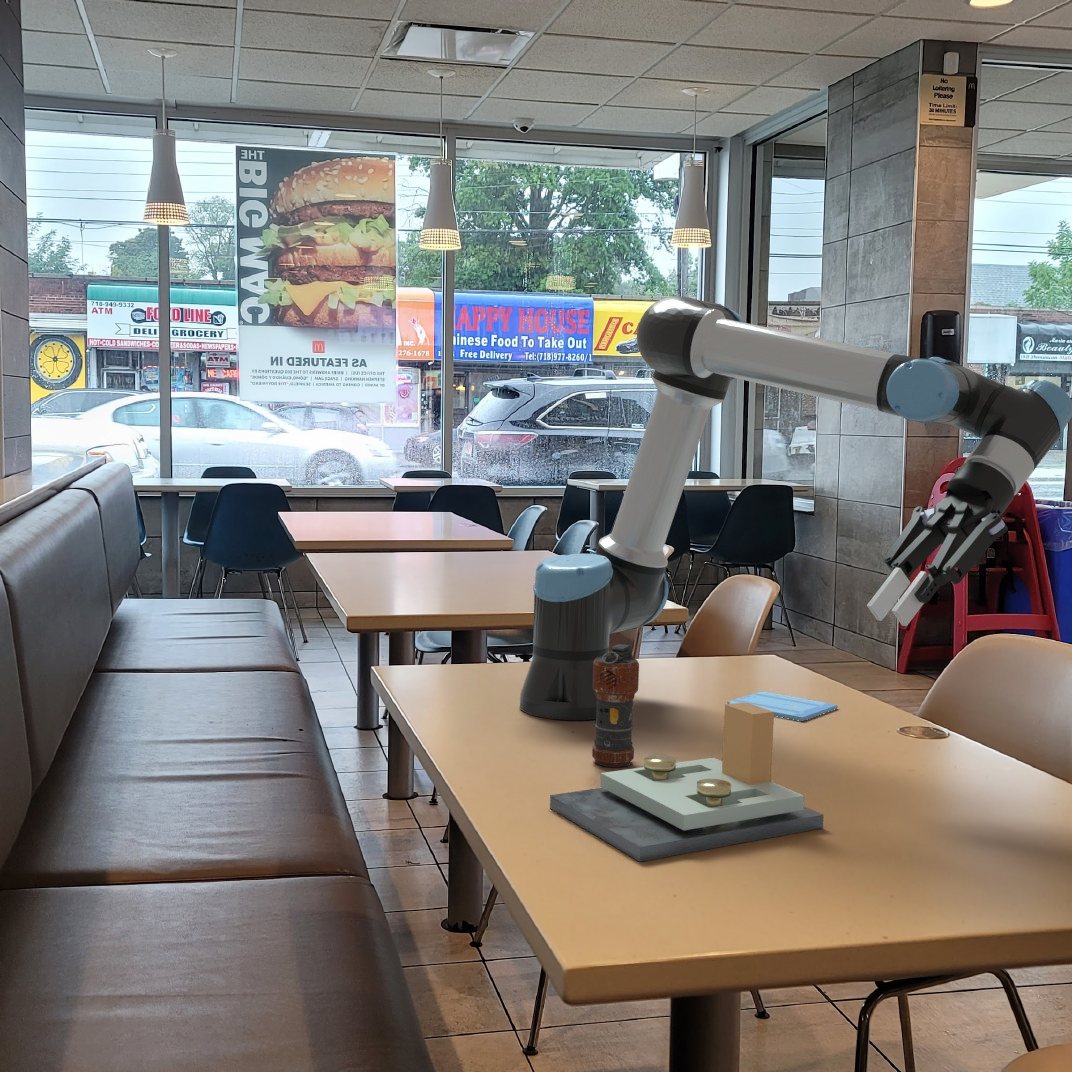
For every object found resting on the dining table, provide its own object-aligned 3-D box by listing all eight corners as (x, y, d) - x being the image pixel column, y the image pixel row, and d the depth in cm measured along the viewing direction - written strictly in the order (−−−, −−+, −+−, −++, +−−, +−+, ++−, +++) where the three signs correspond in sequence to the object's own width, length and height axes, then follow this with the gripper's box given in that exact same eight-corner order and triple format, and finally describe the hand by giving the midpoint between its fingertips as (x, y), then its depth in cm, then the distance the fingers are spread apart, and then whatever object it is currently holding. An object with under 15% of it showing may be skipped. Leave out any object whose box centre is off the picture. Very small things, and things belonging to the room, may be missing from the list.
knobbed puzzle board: (600, 786, 132) (603, 704, 131) (712, 770, 139) (716, 692, 138) (683, 830, 118) (687, 738, 117) (803, 809, 125) (807, 723, 125)
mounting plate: (550, 808, 130) (551, 762, 129) (720, 782, 141) (722, 740, 141) (639, 861, 114) (641, 809, 114) (822, 828, 126) (825, 780, 125)
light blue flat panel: (724, 710, 182) (724, 702, 182) (761, 698, 191) (762, 690, 191) (801, 725, 173) (802, 716, 173) (837, 712, 182) (837, 704, 182)
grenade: (646, 757, 152) (650, 644, 150) (625, 772, 145) (629, 654, 143) (604, 751, 154) (608, 640, 153) (582, 765, 147) (586, 649, 146)
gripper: (1057, 505, 141) (954, 647, 134) (950, 497, 155) (852, 625, 149) (1031, 461, 138) (924, 604, 131) (924, 456, 152) (823, 586, 146)
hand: (886, 615), depth 140 cm, fingers open, 3 cm apart
